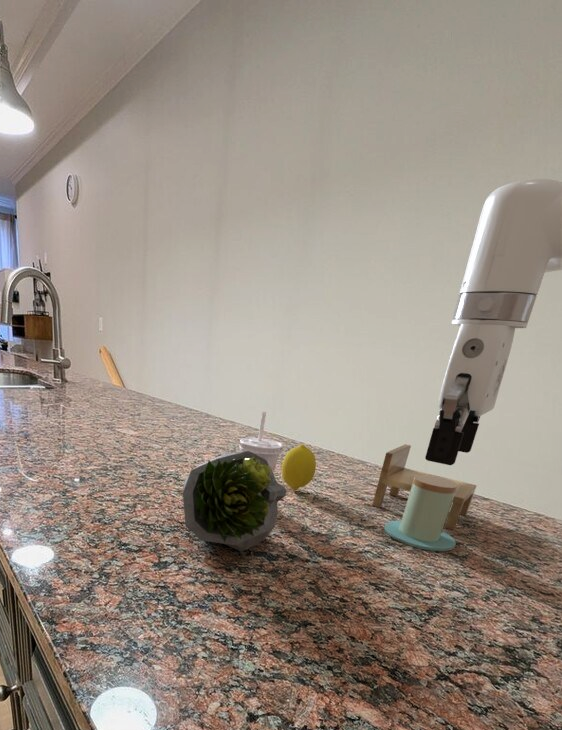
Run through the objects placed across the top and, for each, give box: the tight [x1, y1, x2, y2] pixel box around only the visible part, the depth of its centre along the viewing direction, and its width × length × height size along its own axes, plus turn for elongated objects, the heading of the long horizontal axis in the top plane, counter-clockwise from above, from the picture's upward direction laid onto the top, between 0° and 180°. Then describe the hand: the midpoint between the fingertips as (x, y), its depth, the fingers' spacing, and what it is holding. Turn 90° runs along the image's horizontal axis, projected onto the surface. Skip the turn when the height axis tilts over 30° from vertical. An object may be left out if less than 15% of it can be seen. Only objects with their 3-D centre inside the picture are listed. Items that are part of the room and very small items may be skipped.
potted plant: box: [182, 451, 287, 553], centre depth 53 cm, size 12×13×15 cm
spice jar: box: [399, 474, 459, 542], centre depth 61 cm, size 5×5×8 cm
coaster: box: [384, 520, 457, 552], centre depth 63 cm, size 9×9×1 cm
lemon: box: [281, 444, 317, 491], centre depth 76 cm, size 6×6×8 cm
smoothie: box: [238, 411, 284, 475], centre depth 67 cm, size 6×6×14 cm
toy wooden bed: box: [371, 444, 478, 531], centre depth 71 cm, size 12×10×9 cm
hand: (448, 456), depth 58 cm, fingers open, 9 cm apart
